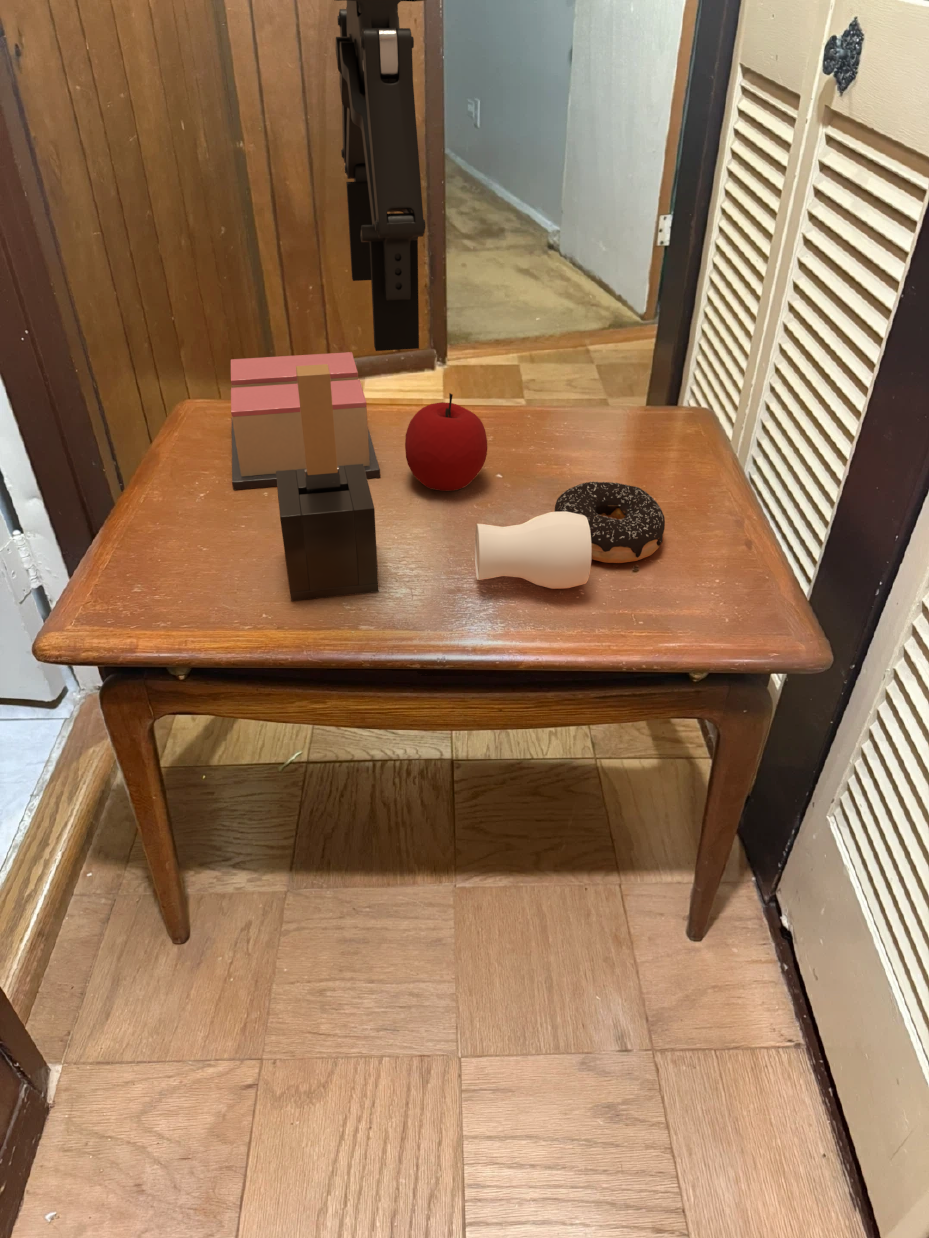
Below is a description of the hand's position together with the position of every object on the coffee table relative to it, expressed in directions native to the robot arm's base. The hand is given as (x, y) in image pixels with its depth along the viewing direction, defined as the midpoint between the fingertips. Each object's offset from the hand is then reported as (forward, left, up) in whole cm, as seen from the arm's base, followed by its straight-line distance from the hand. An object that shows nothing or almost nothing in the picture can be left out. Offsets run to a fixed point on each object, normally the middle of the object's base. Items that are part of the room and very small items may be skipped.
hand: (382, 310), depth 59 cm
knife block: (-5, +9, -28) cm, 29 cm away
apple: (+9, +24, -28) cm, 38 cm away
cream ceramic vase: (+13, +4, -28) cm, 31 cm away
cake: (-6, +34, -28) cm, 44 cm away
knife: (-5, +9, -26) cm, 28 cm away
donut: (+23, +10, -28) cm, 38 cm away
